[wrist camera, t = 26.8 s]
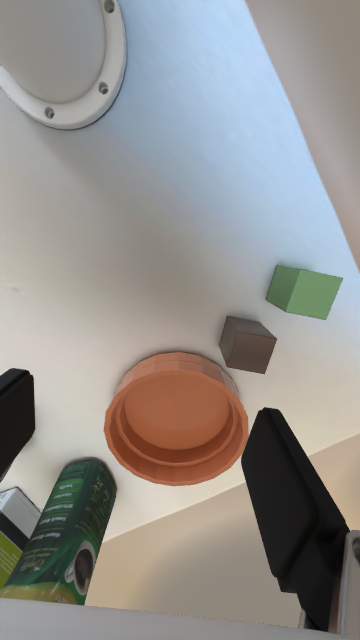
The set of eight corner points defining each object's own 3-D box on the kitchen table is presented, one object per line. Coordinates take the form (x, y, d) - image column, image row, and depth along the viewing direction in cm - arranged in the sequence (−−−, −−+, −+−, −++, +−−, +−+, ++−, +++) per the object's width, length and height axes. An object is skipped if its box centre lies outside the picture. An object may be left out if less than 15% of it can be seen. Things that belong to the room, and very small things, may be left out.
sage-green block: (276, 265, 26) (300, 269, 20) (311, 272, 26) (343, 277, 21) (265, 299, 27) (285, 312, 22) (298, 306, 27) (326, 320, 22)
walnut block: (227, 315, 28) (237, 331, 22) (259, 322, 28) (277, 338, 23) (218, 346, 29) (226, 367, 24) (250, 352, 29) (264, 374, 24)
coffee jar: (56, 462, 35) (-71, 677, 17) (103, 453, 35) (20, 667, 17) (79, 504, 38) (-11, 726, 20) (123, 496, 37) (70, 719, 20)
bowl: (123, 339, 29) (112, 357, 24) (253, 363, 30) (267, 385, 25) (110, 443, 34) (98, 474, 29) (221, 461, 35) (227, 494, 30)
